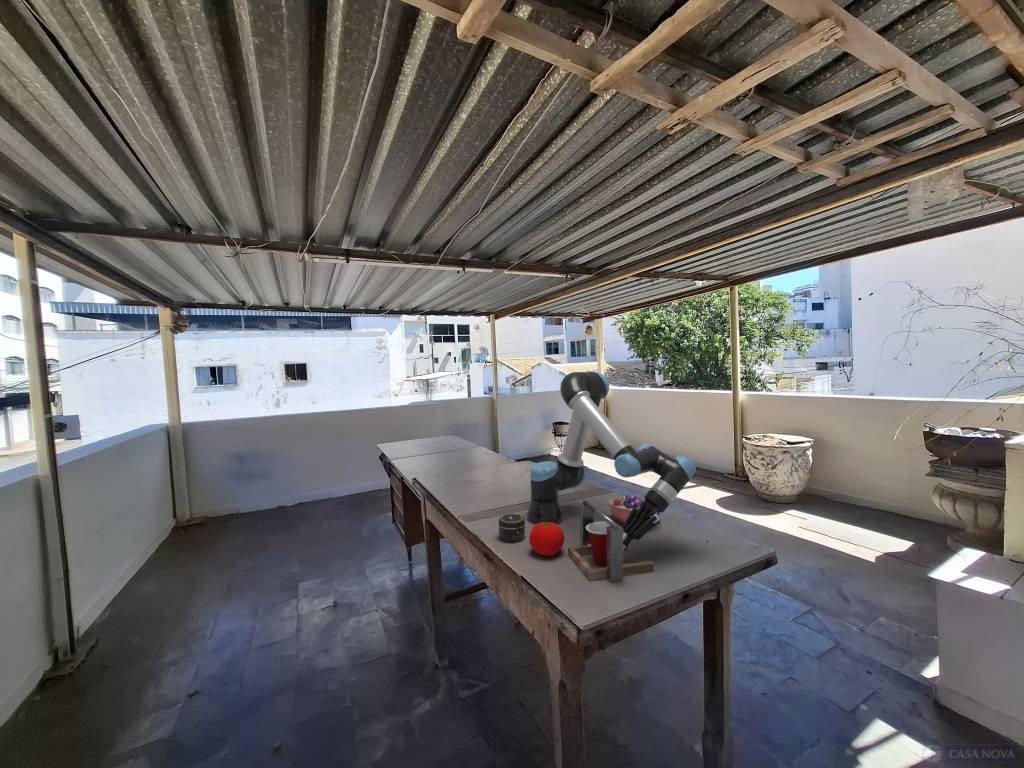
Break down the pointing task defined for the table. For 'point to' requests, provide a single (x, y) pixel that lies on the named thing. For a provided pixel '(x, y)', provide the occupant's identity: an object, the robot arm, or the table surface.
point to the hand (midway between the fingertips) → (615, 551)
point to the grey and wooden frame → (614, 549)
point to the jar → (511, 527)
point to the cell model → (623, 506)
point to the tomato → (546, 538)
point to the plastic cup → (598, 541)
